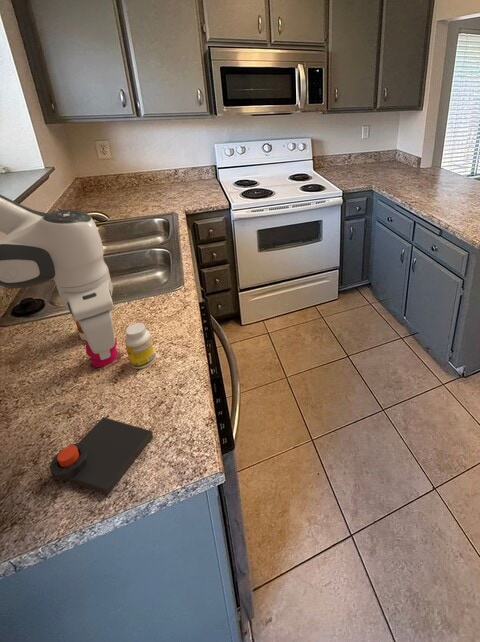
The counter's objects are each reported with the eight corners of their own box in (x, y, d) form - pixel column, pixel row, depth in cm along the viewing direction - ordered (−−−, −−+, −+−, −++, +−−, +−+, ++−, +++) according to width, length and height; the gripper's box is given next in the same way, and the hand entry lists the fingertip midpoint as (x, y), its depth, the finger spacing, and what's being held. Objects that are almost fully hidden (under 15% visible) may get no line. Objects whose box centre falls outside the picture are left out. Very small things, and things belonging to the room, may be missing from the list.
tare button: (55, 465, 69) (53, 458, 68) (70, 449, 72) (68, 443, 71) (68, 469, 68) (65, 463, 67) (83, 453, 71) (81, 447, 70)
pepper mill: (104, 348, 103) (87, 288, 96) (125, 351, 102) (110, 291, 95) (83, 366, 97) (63, 304, 90) (106, 370, 95) (88, 307, 88)
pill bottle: (131, 357, 100) (123, 324, 96) (155, 350, 102) (148, 318, 98) (129, 372, 94) (121, 338, 90) (155, 365, 97) (148, 332, 93)
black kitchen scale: (47, 481, 69) (41, 469, 68) (103, 422, 81) (99, 411, 79) (103, 502, 65) (98, 489, 64) (153, 437, 77) (150, 425, 76)
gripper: (61, 273, 77) (77, 326, 82) (73, 319, 62) (91, 380, 67) (95, 264, 81) (108, 315, 85) (114, 305, 66) (128, 364, 71)
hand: (101, 344), depth 76 cm, fingers open, 8 cm apart
